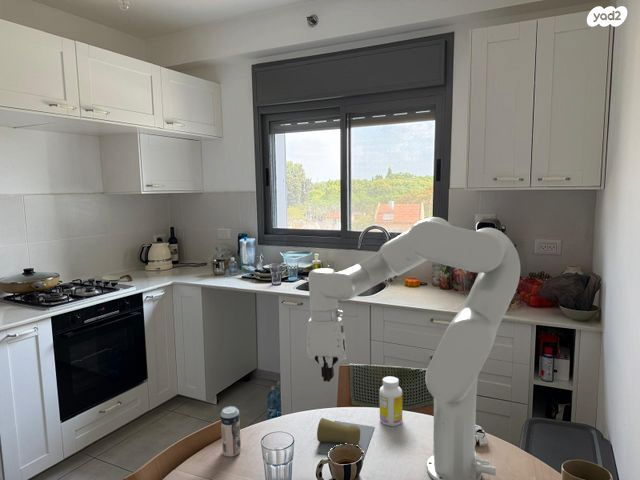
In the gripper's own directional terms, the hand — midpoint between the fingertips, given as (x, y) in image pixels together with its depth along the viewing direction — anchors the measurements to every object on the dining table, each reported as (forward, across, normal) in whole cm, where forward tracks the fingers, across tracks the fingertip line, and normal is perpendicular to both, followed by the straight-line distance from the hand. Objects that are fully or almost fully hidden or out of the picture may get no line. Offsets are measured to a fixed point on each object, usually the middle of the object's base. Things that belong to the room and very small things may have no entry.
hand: (328, 379), depth 118 cm
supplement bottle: (+18, -15, -13) cm, 26 cm away
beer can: (+16, +23, +14) cm, 32 cm away
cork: (+14, +2, +2) cm, 14 cm away
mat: (+17, -5, 0) cm, 18 cm away
